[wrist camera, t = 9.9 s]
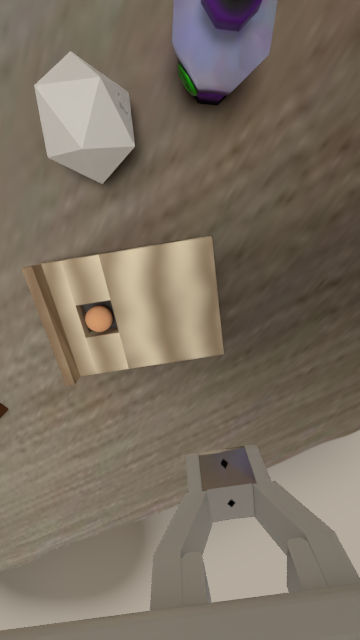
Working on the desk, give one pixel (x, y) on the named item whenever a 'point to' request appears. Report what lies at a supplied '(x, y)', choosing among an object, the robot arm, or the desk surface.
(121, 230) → the desk surface
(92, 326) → the ball
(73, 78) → the die
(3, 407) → the hardcover book
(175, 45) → the potion bottle
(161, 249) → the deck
